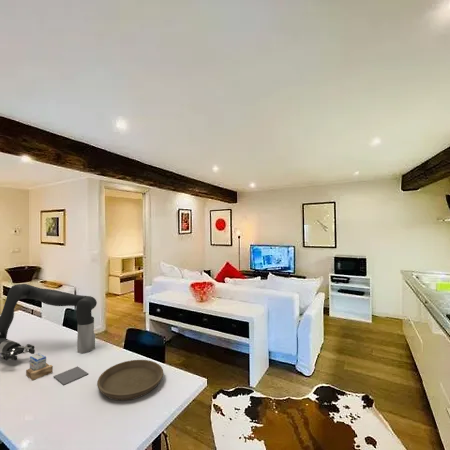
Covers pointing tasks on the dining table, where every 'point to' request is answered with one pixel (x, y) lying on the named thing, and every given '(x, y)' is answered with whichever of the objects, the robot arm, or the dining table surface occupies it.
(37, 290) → the robot arm
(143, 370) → the plant saucer
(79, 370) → the mat
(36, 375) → the bracket
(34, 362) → the medicine box
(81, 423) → the dining table surface
